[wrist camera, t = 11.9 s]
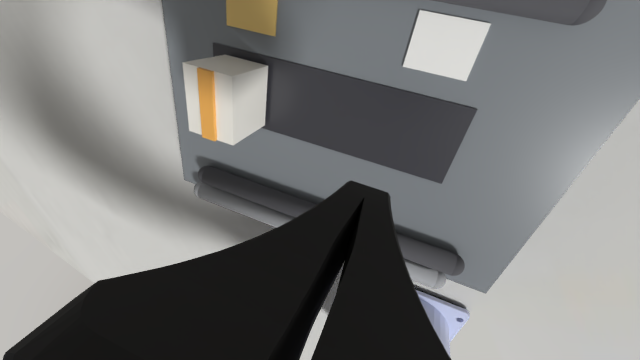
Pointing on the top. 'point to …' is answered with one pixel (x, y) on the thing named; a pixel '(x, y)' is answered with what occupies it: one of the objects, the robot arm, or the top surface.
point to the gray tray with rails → (420, 258)
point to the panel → (418, 108)
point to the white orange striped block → (225, 97)
